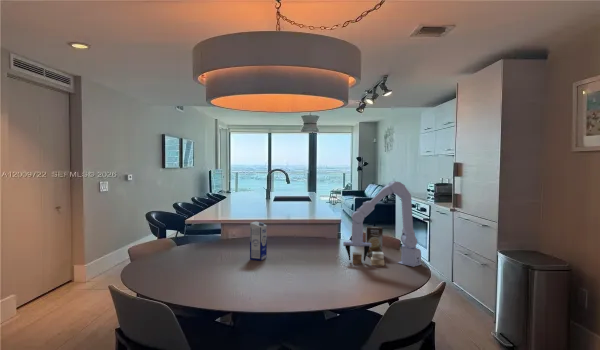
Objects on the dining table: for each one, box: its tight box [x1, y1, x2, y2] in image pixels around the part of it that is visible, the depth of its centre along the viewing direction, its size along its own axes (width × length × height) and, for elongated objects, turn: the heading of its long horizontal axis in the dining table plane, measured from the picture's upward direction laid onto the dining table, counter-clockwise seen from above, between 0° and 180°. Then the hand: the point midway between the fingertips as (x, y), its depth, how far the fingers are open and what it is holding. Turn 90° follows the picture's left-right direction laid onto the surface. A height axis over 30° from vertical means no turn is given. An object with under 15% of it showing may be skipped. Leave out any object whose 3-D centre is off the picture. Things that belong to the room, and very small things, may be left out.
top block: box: [371, 251, 385, 261], centre depth 190 cm, size 6×6×3 cm
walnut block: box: [352, 252, 363, 265], centre depth 192 cm, size 4×4×5 cm
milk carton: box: [249, 221, 268, 262], centre depth 198 cm, size 7×7×20 cm
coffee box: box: [365, 225, 384, 257], centre depth 210 cm, size 9×6×16 cm
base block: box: [370, 256, 385, 267], centre depth 190 cm, size 6×6×3 cm
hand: (357, 260), depth 192 cm, fingers open, 7 cm apart
